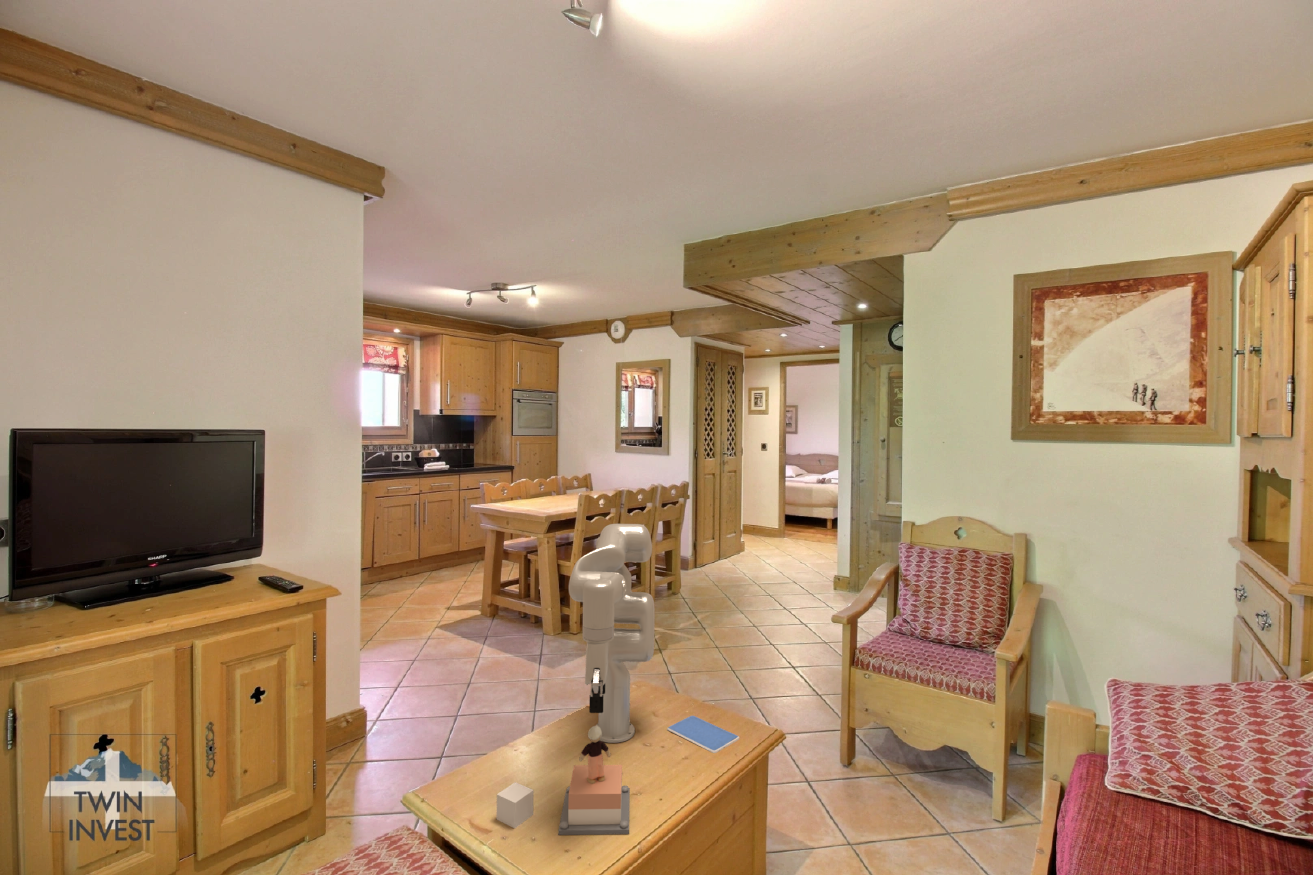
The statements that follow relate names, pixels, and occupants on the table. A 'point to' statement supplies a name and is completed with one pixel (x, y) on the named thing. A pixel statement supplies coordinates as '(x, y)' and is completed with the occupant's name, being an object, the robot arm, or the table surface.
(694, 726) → the tablet computer
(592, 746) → the grandmother figurine
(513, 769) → the table surface
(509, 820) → the white cube
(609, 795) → the pink framed box
